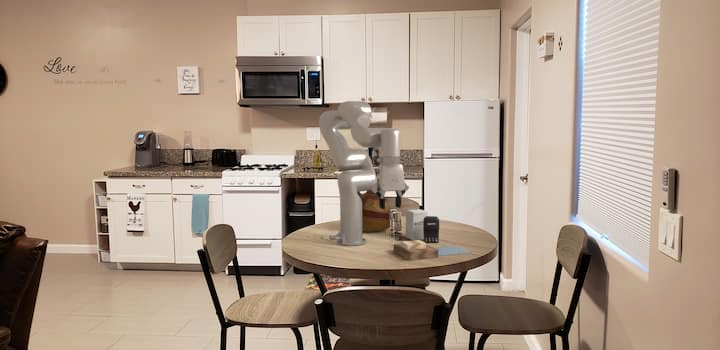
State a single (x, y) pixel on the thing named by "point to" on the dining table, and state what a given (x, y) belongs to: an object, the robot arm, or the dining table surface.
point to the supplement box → (415, 224)
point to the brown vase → (374, 212)
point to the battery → (431, 229)
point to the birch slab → (413, 244)
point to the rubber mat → (451, 250)
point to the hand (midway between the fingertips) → (390, 207)
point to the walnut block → (416, 252)
